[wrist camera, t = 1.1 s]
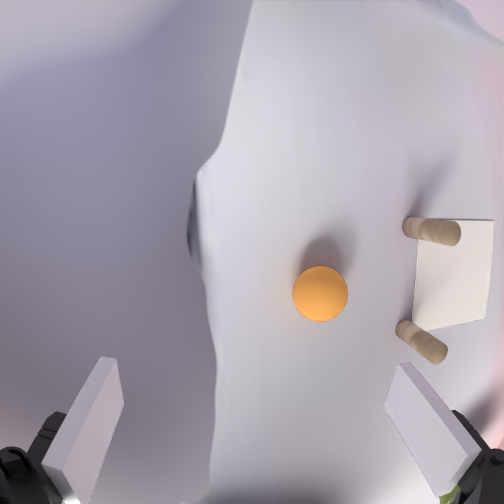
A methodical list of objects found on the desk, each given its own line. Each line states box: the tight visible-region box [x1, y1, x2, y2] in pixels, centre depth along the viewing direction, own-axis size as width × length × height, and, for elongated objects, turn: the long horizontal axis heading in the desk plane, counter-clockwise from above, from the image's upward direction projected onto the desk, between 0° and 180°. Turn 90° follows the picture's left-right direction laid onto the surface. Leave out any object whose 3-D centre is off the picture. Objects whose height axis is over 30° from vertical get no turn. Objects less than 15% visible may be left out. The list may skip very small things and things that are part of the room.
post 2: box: [396, 319, 448, 365], centre depth 32 cm, size 2×2×8 cm
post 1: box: [402, 217, 461, 246], centre depth 30 cm, size 2×2×8 cm
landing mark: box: [411, 220, 494, 331], centre depth 36 cm, size 14×14×1 cm
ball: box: [293, 266, 348, 322], centre depth 32 cm, size 6×6×6 cm
